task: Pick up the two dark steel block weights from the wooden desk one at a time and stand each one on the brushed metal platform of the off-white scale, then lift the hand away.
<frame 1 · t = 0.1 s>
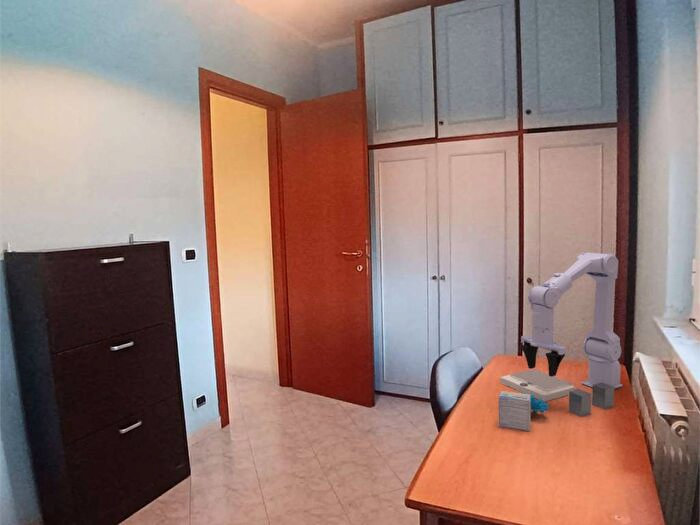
hand: (541, 371, 136), 10 cm above the table, tool pointing down, fingers open, 7 cm apart
gear: (527, 416, 130), on the table
kitchen scale: (536, 387, 149), on the table
steel weight 2: (602, 405, 135), on the table
medicine box: (514, 426, 124), on the table
steel weight 1: (579, 412, 130), on the table
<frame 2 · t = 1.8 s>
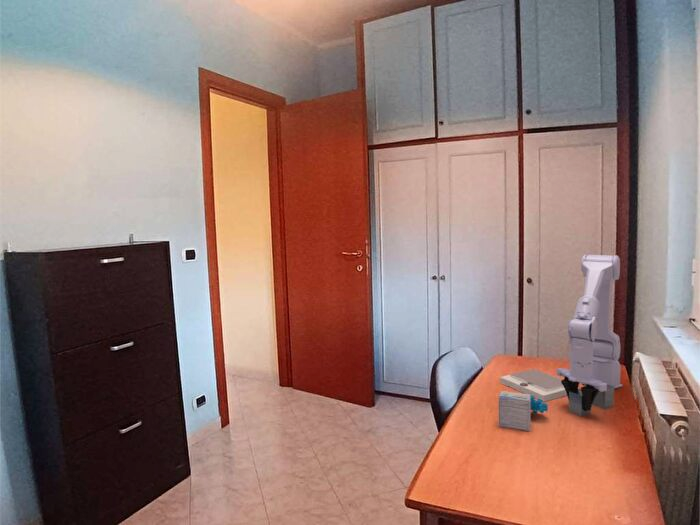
hand: (579, 407, 130), 2 cm above the table, tool pointing down, fingers closed on steel weight 1, 4 cm apart
steel weight 1: (579, 412, 130), on the table, touching gripper
everything else where it was.
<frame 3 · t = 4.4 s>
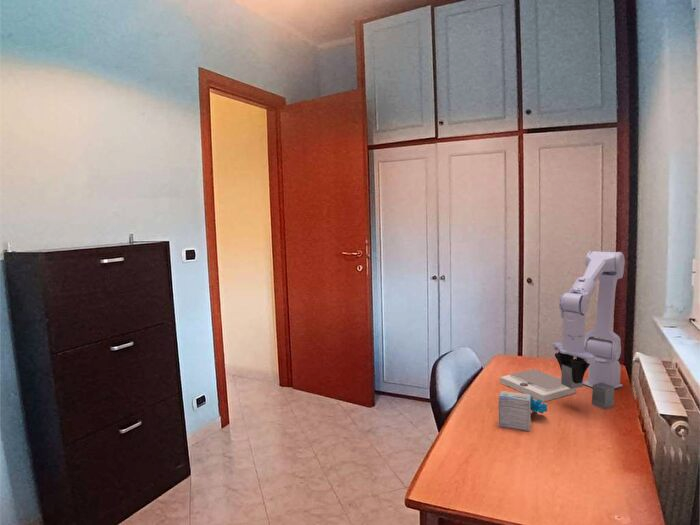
hand: (572, 379, 133), 8 cm above the table, tool pointing down, fingers closed on steel weight 1, 4 cm apart
steel weight 1: (571, 385, 133), point 7 cm above the table, touching gripper
everything else where it was.
when the fingers open (5 cm above the table, at t = 7.2 s): steel weight 1 stays where it is, resting on kitchen scale.
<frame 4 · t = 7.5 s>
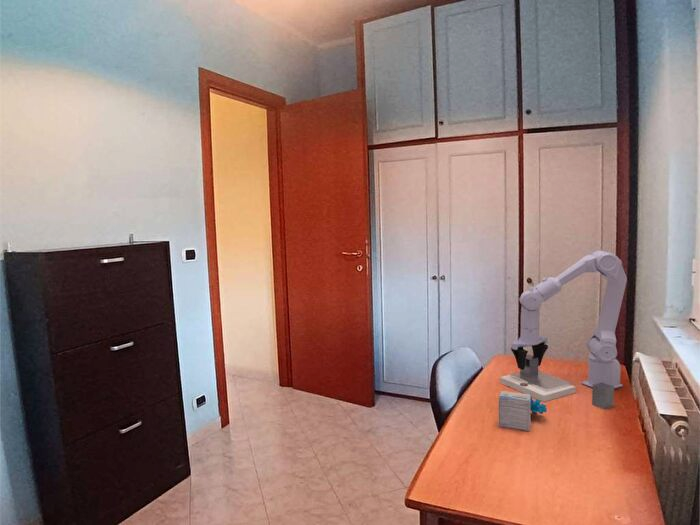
hand: (529, 366, 153), 5 cm above the table, tool pointing down, fingers open, 7 cm apart
steel weight 1: (529, 374, 154), point 3 cm above the table, touching kitchen scale
everything else where it was.
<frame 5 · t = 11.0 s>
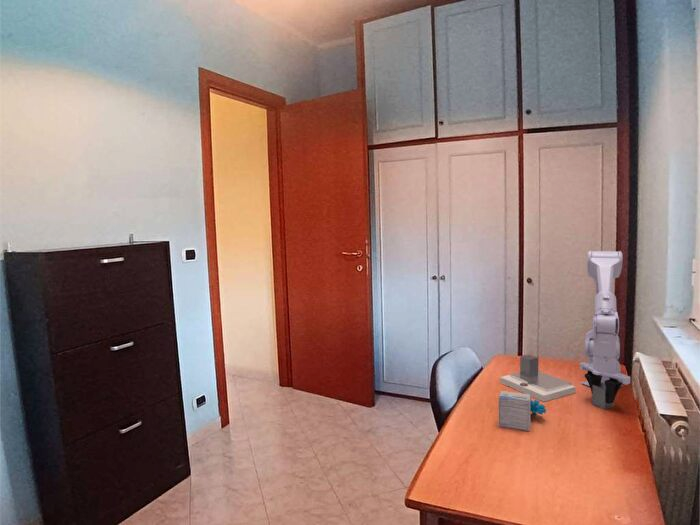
hand: (602, 400, 135), 2 cm above the table, tool pointing down, fingers closed on steel weight 2, 4 cm apart
steel weight 2: (602, 405, 135), on the table, touching gripper
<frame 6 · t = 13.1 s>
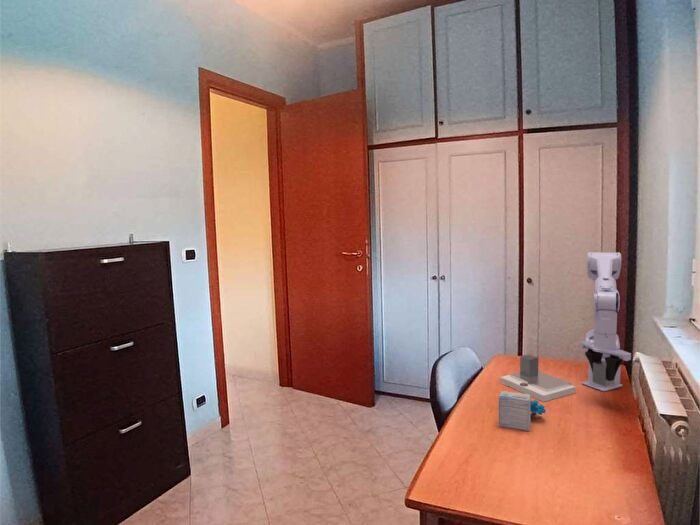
hand: (603, 377, 134), 8 cm above the table, tool pointing down, fingers closed on steel weight 2, 4 cm apart
steel weight 2: (603, 383, 134), point 7 cm above the table, touching gripper
when the fingers open (5 cm above the table, at t = 15.5 s): steel weight 2 stays where it is, resting on kitchen scale.
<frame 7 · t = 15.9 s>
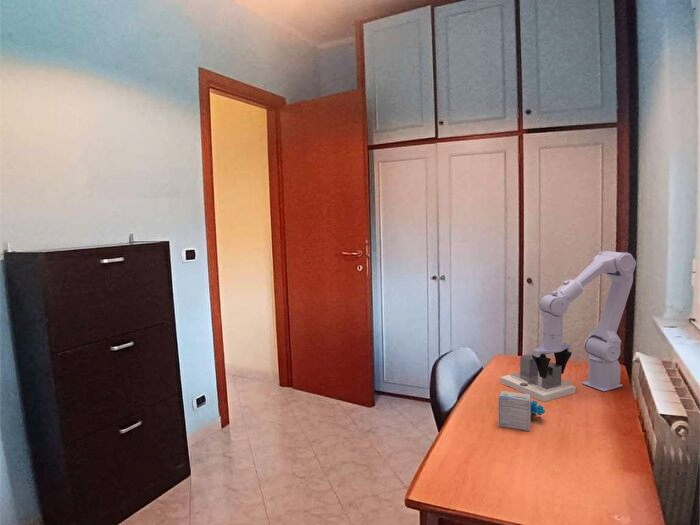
hand: (551, 375, 145), 5 cm above the table, tool pointing down, fingers open, 7 cm apart
steel weight 2: (551, 383, 145), point 3 cm above the table, touching kitchen scale
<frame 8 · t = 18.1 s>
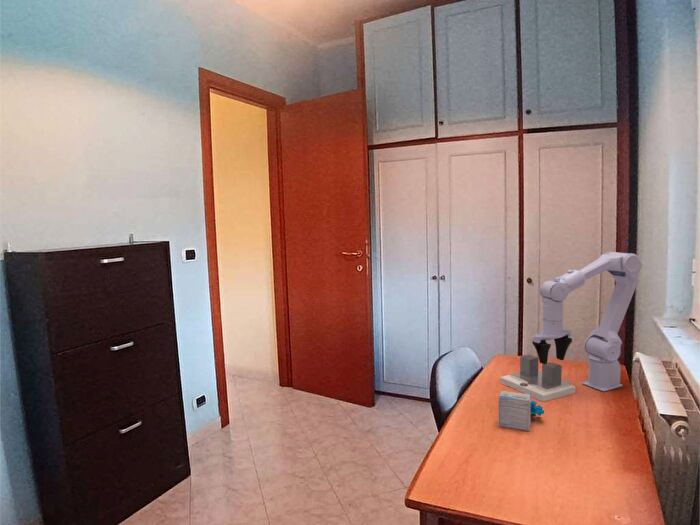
hand: (551, 361, 145), 10 cm above the table, tool pointing down, fingers open, 7 cm apart
at the end: steel weight 1 inside the target area on the kitchen scale (0.5 cm from its centre), point 2.8 cm above the kitchen scale's base; steel weight 2 inside the target area on the kitchen scale (0.5 cm from its centre), point 2.8 cm above the kitchen scale's base; steel weight 2 tilted 0° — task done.
